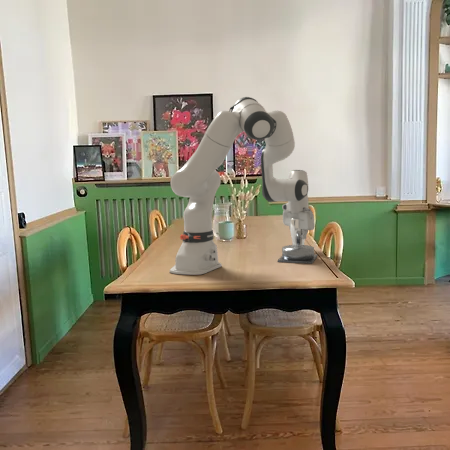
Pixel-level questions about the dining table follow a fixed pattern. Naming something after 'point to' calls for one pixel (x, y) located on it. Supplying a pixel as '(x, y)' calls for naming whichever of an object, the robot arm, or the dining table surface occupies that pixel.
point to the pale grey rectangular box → (296, 232)
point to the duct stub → (298, 254)
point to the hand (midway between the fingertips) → (298, 237)
